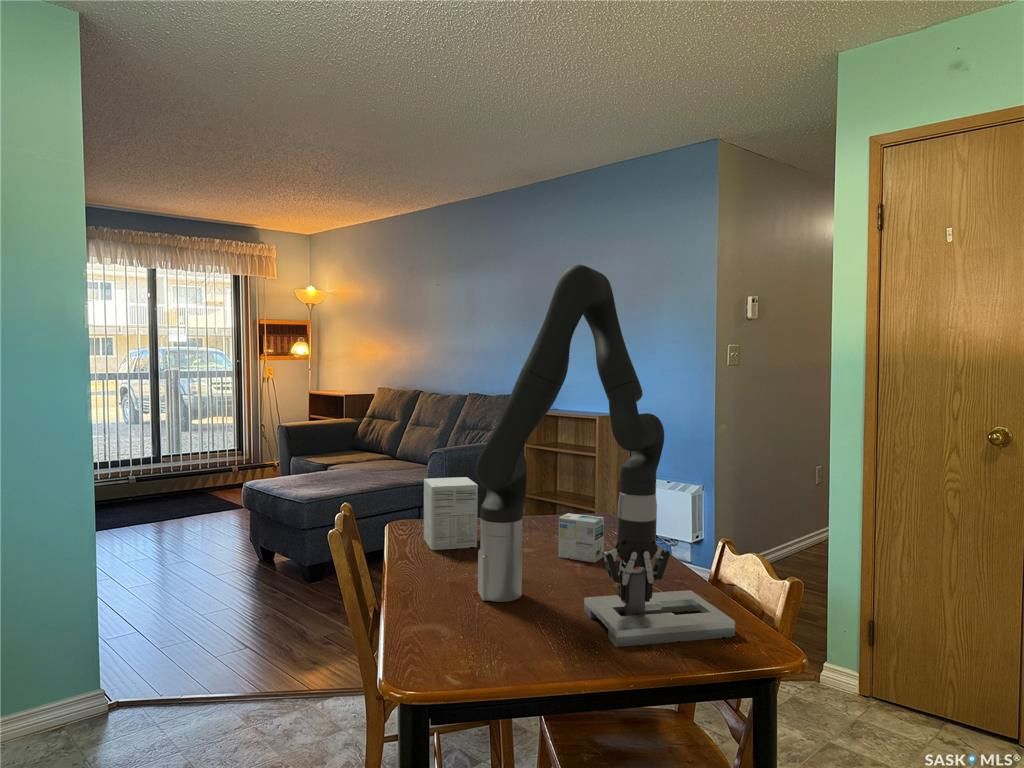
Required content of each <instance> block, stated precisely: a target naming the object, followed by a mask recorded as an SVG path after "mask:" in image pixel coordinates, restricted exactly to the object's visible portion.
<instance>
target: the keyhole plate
mask: <svg viewBox="0 0 1024 768" xmlns="http://www.w3.org/2000/svg"><path fill="white" fill-rule="evenodd" d="M583 602H584V604H583V605H584V607H583V611H584V613H585V614H586V615H587V617H588V618H589V619H593V620H594V619H595V620H596V619H598V620H599V621H601V623H602V624H603V625H604V626H605V627H606V628H607V630H608V634H607V635H608V637H607V638H608V640H609V641H610V642H611V643H612V644H613V645H614V646H615V647H616V648H619V647H631V646H632V647H633V646H642V645H643V646H644V645H654V644H655V645H656V644H666V643H677V642H678V641H680V642H691V641H700V640H712V639H714V640H715V639H723V638H722V637H726V638H733V637H732V636H736V621H735V620H734V619H733V618H732V617H730V616H728V615H727V614H726V613H724V612H723V611H721V610H720V609H719V608H717V607H716V606H715V605H713V604H712V603H710V602H708V601H707V600H706V599H704V598H703V597H701V596H700V595H699V594H697V593H696V592H694V591H693V590H690V589H689V590H688V589H686V590H674V591H661V592H660V591H659V592H658V591H657V592H652V598H651V599H650V601H649V602H645V615H634V616H621V615H623V614H624V610H625V603H623V602H622V601H621V600H620V599H619V597H618V594H615V595H602V596H599V595H598V596H588V597H585V596H584V601H583ZM698 610H699V611H700V612H699V613H698V612H697V611H698ZM685 611H687V612H697V613H686V612H685ZM672 612H674V613H672ZM684 612H685V613H684ZM659 613H661V614H659ZM675 613H682V614H675ZM683 613H684V614H683ZM678 643H679V642H678Z"/></svg>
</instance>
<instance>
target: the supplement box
mask: <svg viewBox="0 0 1024 768" xmlns="http://www.w3.org/2000/svg"><path fill="white" fill-rule="evenodd" d="M478 490H479V485H478V484H477V483H476V482H475V481H473V480H472V479H470V478H469V477H467V476H464V477H462V476H461V477H460V476H459V477H436V478H435V477H433V478H423V539H424V541H425V542H426V544H427V545H428V548H430V551H438V550H439V551H441V550H454V549H456V550H458V549H470V547H475V548H478V504H479V503H478V501H479V499H478V498H479V495H478V493H479V491H478ZM457 548H458V549H457Z"/></svg>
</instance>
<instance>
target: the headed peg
mask: <svg viewBox="0 0 1024 768" xmlns="http://www.w3.org/2000/svg"><path fill="white" fill-rule="evenodd" d="M627 585H628V603H625V610H624V614H623V615H621V616H634V615H645V593H646V573H645V572H644V571H642V570H641V569H635V568H633V570H632V573H631V574H630V576H629V580H628V583H627Z"/></svg>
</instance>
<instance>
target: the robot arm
mask: <svg viewBox="0 0 1024 768" xmlns="http://www.w3.org/2000/svg"><path fill="white" fill-rule="evenodd" d="M561 274H562V275H560V277H559V279H558V281H557V283H556V286H555V288H554V292H553V294H552V297H551V299H550V300H551V301H550V303H549V306H548V309H547V311H546V315H545V318H544V320H543V323H542V325H541V328H540V330H539V332H538V334H537V336H536V338H535V340H534V343H533V346H532V347H531V349H530V352H529V354H528V356H527V358H526V360H525V362H524V363H523V366H522V368H521V371H520V373H519V375H518V377H517V379H516V382H515V384H514V386H513V388H512V391H511V393H510V395H509V397H508V400H507V402H506V405H505V407H504V409H503V411H502V414H501V416H500V419H499V422H497V425H496V427H495V429H494V431H493V432H492V434H491V435H490V437H489V439H488V441H487V442H486V444H485V446H484V447H483V449H482V451H481V453H480V454H479V456H478V458H477V460H476V464H475V465H476V466H475V474H476V478H477V480H478V482H479V483H480V485H481V486H482V487H483V488H485V489H486V495H485V497H484V500H483V502H482V504H481V506H480V538H479V539H480V543H479V545H480V546H479V547H480V548H479V549H478V552H477V593H478V595H479V596H480V599H481V600H482V601H483V602H484V601H490V602H495V603H496V602H498V603H504V602H505V603H507V602H512V601H516V600H519V599H520V598H521V597H522V583H523V582H522V580H523V579H522V578H523V577H522V576H523V574H522V573H523V569H522V568H523V512H524V511H523V510H524V507H525V504H526V499H527V498H526V497H527V482H528V481H527V479H528V478H527V477H528V476H527V475H528V474H527V473H528V466H527V460H526V456H525V454H524V452H523V451H524V448H525V445H526V443H527V441H528V440H529V438H530V436H531V435H532V433H533V432H534V430H535V429H536V428H537V426H538V425H540V423H541V421H542V420H543V419H544V418H545V416H546V415H547V414H548V412H549V411H550V410H551V407H552V406H553V405H554V403H555V401H556V399H557V397H558V396H559V394H560V392H561V389H562V386H563V385H564V383H565V381H566V378H567V374H568V369H569V364H570V363H569V362H570V349H571V343H572V338H573V335H574V333H575V331H576V329H577V326H578V324H579V322H580V321H581V319H582V317H584V319H585V321H586V323H587V324H588V326H589V328H590V331H591V333H592V337H593V341H594V346H595V361H596V368H597V373H598V375H599V379H600V382H601V384H602V388H603V390H604V393H605V394H606V398H607V400H608V409H609V410H608V411H609V419H610V427H611V432H612V436H613V439H614V440H615V441H616V443H617V445H618V446H619V447H620V448H621V449H623V450H625V451H627V452H631V453H630V457H629V459H628V460H627V461H625V462H624V463H622V465H621V467H620V472H619V495H618V496H619V497H618V501H617V533H616V534H617V543H616V545H615V547H614V548H613V549H611V550H609V551H608V550H605V549H604V551H603V552H602V555H603V557H602V558H603V562H604V565H605V567H606V571H607V575H608V577H609V579H611V580H612V581H613V582H614V583H617V595H618V597H619V599H620V600H621V601H622V602H623V603H628V585H627V583H628V580H629V576H630V574H631V573H632V570H633V569H635V568H637V567H639V568H640V570H642V571H644V572H645V573H646V593H645V602H649V601H650V599H651V598H652V593H653V583H654V582H655V581H657V580H658V581H661V580H662V579H663V577H664V574H665V570H666V568H667V564H668V561H669V558H670V555H671V552H670V551H669V550H668V549H666V548H664V547H658V544H657V542H656V539H657V521H658V520H657V518H658V517H657V516H658V515H657V512H658V504H657V503H658V501H657V470H658V468H659V467H658V466H659V464H660V462H661V456H662V454H663V453H662V452H663V448H664V445H665V429H664V426H663V425H664V424H663V422H662V421H661V419H660V418H659V417H658V416H656V415H655V414H653V413H648V412H647V413H639V409H638V404H637V403H638V402H639V401H640V400H641V399H642V397H643V388H642V386H641V382H640V380H639V377H638V375H637V372H636V370H635V368H634V365H633V362H632V360H631V357H630V354H629V352H628V349H627V346H626V343H625V340H624V335H623V333H622V329H621V326H620V321H619V317H618V313H617V308H616V307H617V306H616V302H615V298H614V293H613V292H614V291H613V289H612V286H611V283H610V280H609V279H608V277H606V275H604V274H603V273H602V272H600V271H598V270H596V269H594V268H591V267H590V266H586V265H583V264H574V265H572V266H570V267H568V268H567V269H566V270H565V271H564V272H563V273H561ZM617 556H618V557H619V559H620V563H619V572H618V570H617V567H616V563H615V562H616V561H617ZM654 556H655V557H656V559H655V561H654V566H652V562H651V561H652V559H653V558H654Z"/></svg>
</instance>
